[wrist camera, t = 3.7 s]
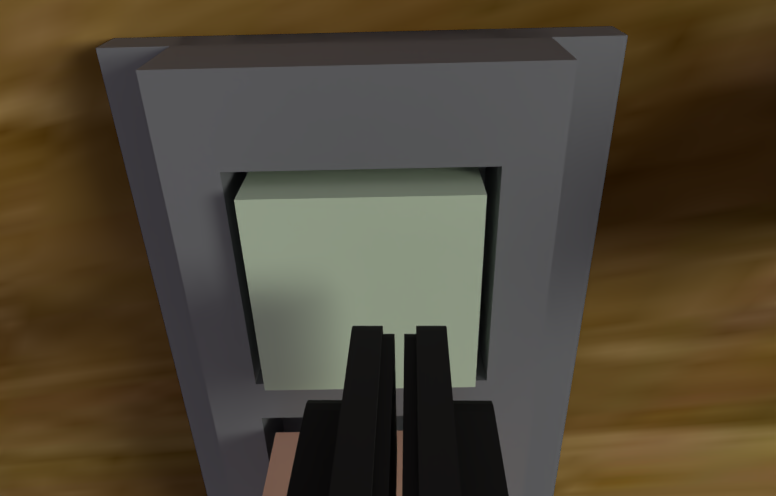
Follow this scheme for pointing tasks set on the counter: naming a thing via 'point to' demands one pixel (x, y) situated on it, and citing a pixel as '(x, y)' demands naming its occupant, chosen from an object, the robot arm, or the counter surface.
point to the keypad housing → (370, 151)
